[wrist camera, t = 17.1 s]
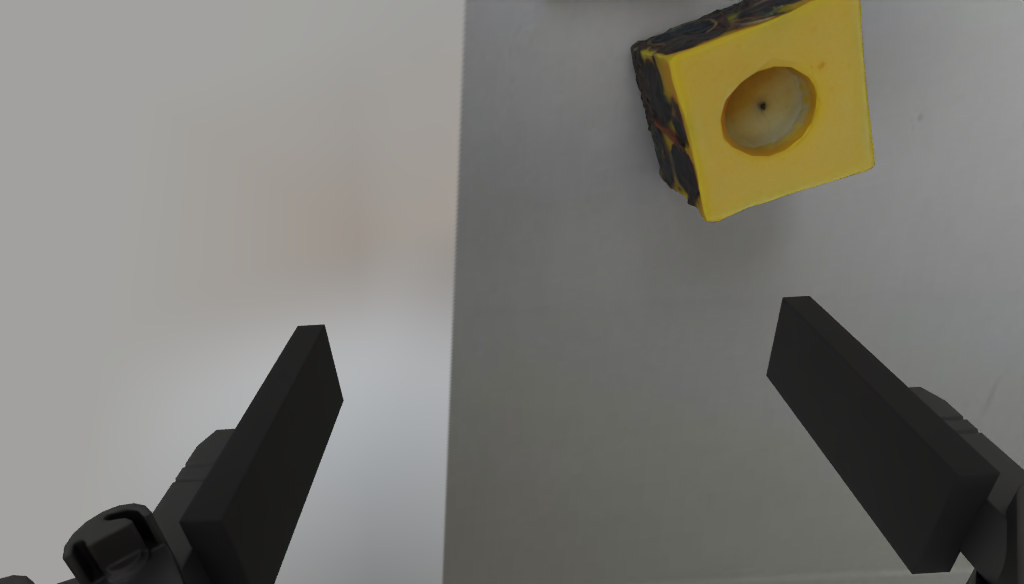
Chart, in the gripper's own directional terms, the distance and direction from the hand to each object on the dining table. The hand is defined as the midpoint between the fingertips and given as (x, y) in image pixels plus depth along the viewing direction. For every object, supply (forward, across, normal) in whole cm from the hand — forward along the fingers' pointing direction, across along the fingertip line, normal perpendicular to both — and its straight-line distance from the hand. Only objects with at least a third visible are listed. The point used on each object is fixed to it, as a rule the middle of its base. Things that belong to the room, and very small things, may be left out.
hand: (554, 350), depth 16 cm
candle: (+27, +14, +3) cm, 30 cm away
